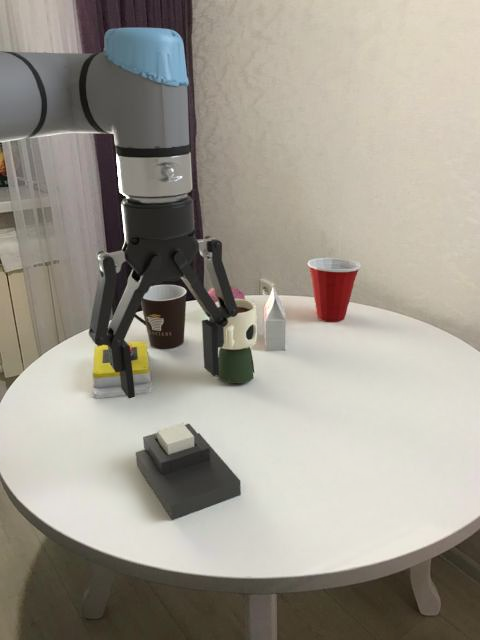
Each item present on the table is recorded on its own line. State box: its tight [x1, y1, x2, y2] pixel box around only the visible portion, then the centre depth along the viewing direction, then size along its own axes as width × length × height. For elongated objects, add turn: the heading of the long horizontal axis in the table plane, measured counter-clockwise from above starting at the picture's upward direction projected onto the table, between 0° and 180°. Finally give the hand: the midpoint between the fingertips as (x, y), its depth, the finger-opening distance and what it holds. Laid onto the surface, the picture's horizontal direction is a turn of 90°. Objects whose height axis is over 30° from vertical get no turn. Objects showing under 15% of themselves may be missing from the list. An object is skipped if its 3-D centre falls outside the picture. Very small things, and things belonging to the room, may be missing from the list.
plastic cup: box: [306, 257, 362, 323], centre depth 121 cm, size 11×11×12 cm
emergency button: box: [92, 340, 153, 399], centre depth 99 cm, size 9×4×15 cm
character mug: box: [215, 299, 258, 384], centre depth 96 cm, size 11×7×13 cm, turn 174°
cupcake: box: [206, 285, 246, 303], centre depth 120 cm, size 9×8×12 cm
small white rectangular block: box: [156, 422, 194, 455], centre depth 75 cm, size 4×4×2 cm
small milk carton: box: [263, 287, 287, 351], centre depth 110 cm, size 4×7×10 cm, turn 2°
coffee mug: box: [134, 284, 188, 350], centre depth 111 cm, size 12×9×10 cm
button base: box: [135, 423, 242, 521], centre depth 74 cm, size 12×9×4 cm
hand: (171, 381), depth 71 cm, fingers open, 10 cm apart
